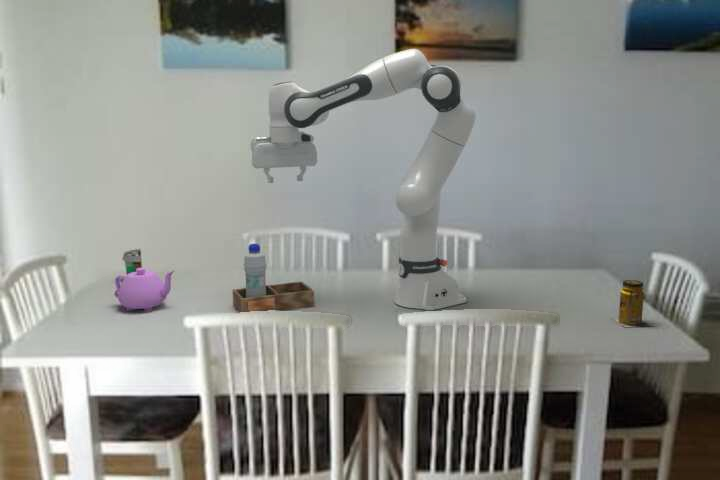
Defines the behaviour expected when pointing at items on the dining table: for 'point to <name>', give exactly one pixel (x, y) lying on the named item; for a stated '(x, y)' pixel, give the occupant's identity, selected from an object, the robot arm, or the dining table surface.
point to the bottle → (255, 272)
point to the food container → (132, 260)
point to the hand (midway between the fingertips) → (285, 181)
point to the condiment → (631, 305)
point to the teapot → (142, 289)
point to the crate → (275, 298)
